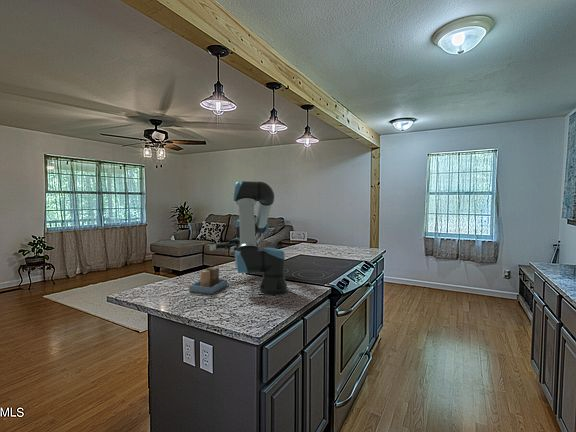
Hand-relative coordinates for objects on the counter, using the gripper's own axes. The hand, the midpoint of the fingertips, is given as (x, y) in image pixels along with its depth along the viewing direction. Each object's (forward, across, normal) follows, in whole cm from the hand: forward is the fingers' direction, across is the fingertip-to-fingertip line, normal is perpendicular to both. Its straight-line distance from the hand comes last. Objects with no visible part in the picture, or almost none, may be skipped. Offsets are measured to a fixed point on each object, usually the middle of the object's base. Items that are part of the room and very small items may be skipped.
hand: (220, 249), depth 188 cm
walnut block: (+10, 0, -19) cm, 22 cm away
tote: (+14, 0, -20) cm, 24 cm away
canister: (+18, 0, -19) cm, 26 cm away
